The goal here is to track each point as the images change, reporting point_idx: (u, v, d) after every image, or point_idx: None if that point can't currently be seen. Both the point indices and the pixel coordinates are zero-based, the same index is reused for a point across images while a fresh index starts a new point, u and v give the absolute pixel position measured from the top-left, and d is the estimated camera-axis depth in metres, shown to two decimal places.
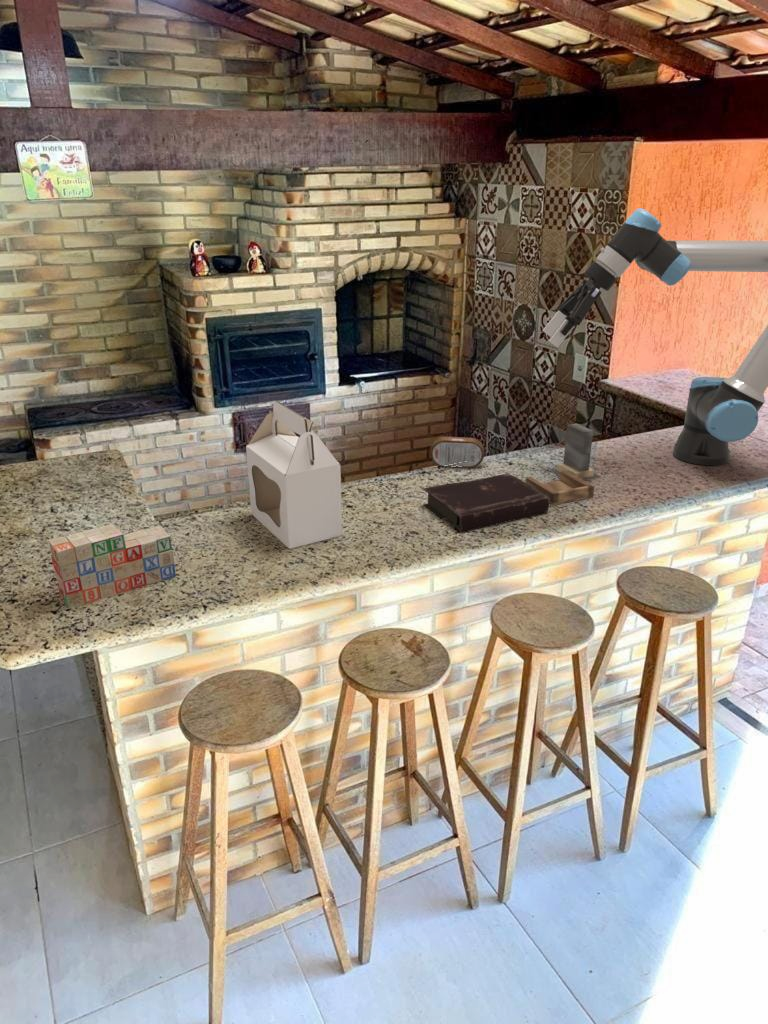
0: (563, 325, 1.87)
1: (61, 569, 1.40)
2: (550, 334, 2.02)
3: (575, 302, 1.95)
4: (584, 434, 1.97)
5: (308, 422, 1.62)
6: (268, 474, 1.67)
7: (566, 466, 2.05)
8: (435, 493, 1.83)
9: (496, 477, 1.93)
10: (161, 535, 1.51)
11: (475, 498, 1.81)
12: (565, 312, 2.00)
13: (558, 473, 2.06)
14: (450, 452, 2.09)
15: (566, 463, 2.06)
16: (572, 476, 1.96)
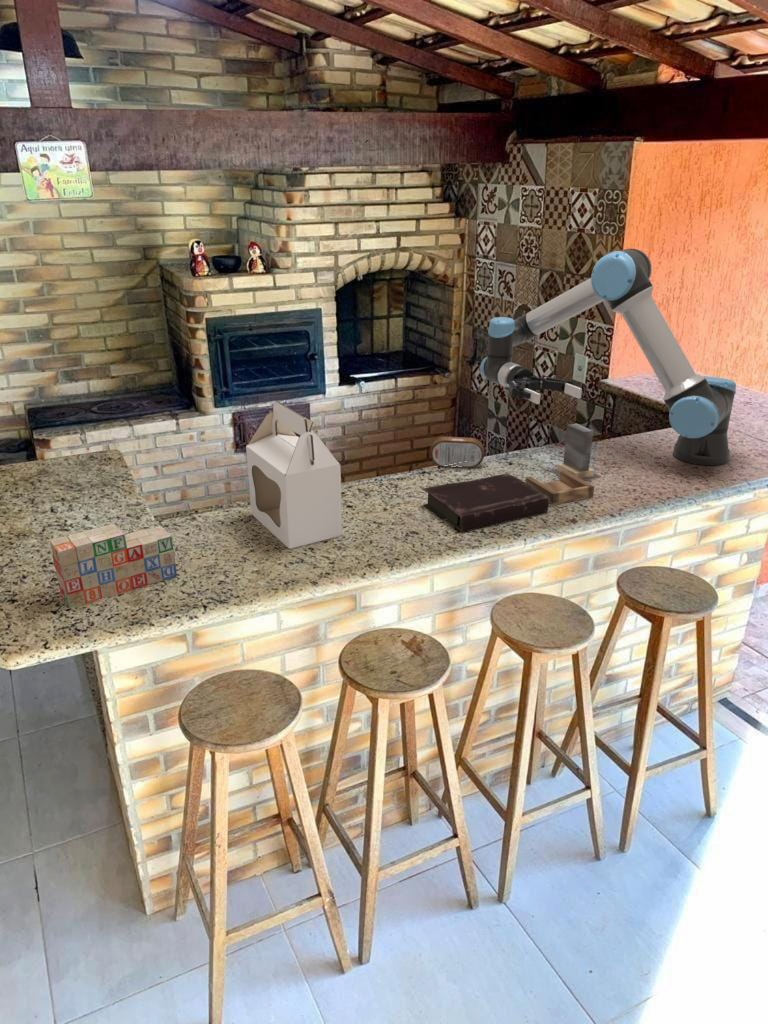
0: None
1: (62, 569, 1.40)
2: (578, 390, 2.09)
3: (548, 385, 2.16)
4: (584, 434, 1.97)
5: (308, 422, 1.62)
6: (268, 474, 1.67)
7: (566, 466, 2.05)
8: (435, 493, 1.83)
9: (495, 477, 1.93)
10: (163, 535, 1.51)
11: (475, 498, 1.81)
12: None
13: (558, 473, 2.06)
14: (450, 452, 2.09)
15: (566, 463, 2.06)
16: (572, 476, 1.96)
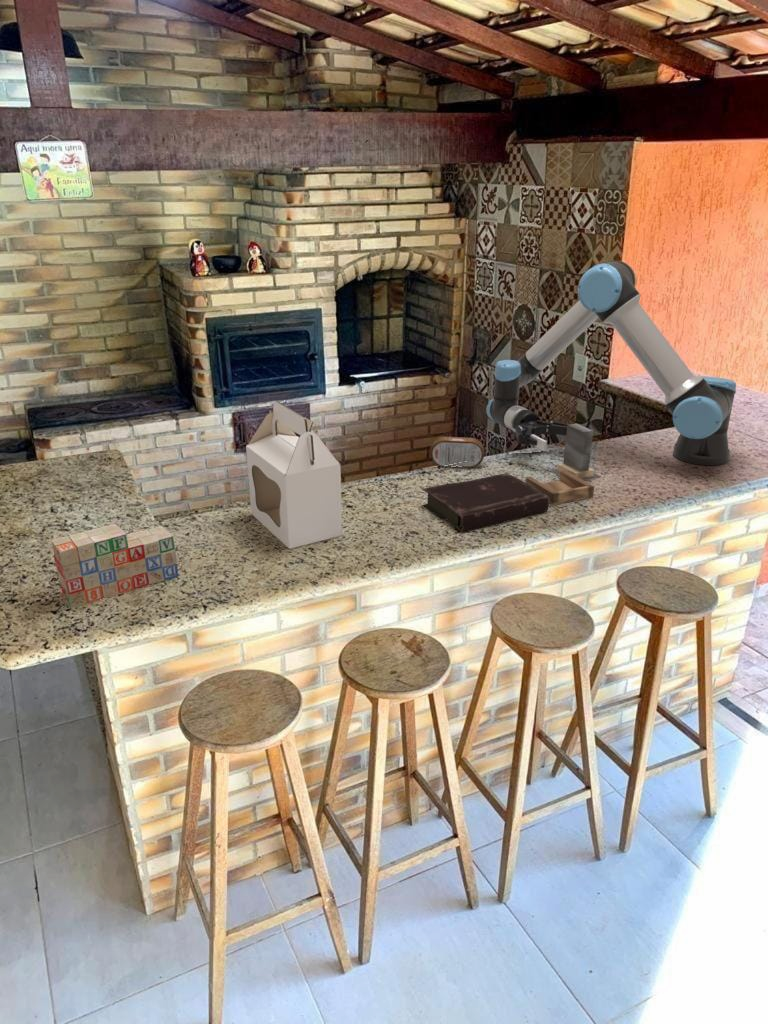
0: None
1: (64, 569, 1.40)
2: None
3: (555, 429, 2.17)
4: (584, 434, 1.97)
5: (308, 422, 1.62)
6: (268, 474, 1.67)
7: (566, 466, 2.05)
8: (435, 493, 1.83)
9: (495, 477, 1.93)
10: (164, 535, 1.51)
11: (475, 498, 1.81)
12: None
13: (558, 473, 2.06)
14: (450, 452, 2.09)
15: (566, 463, 2.06)
16: (572, 476, 1.96)
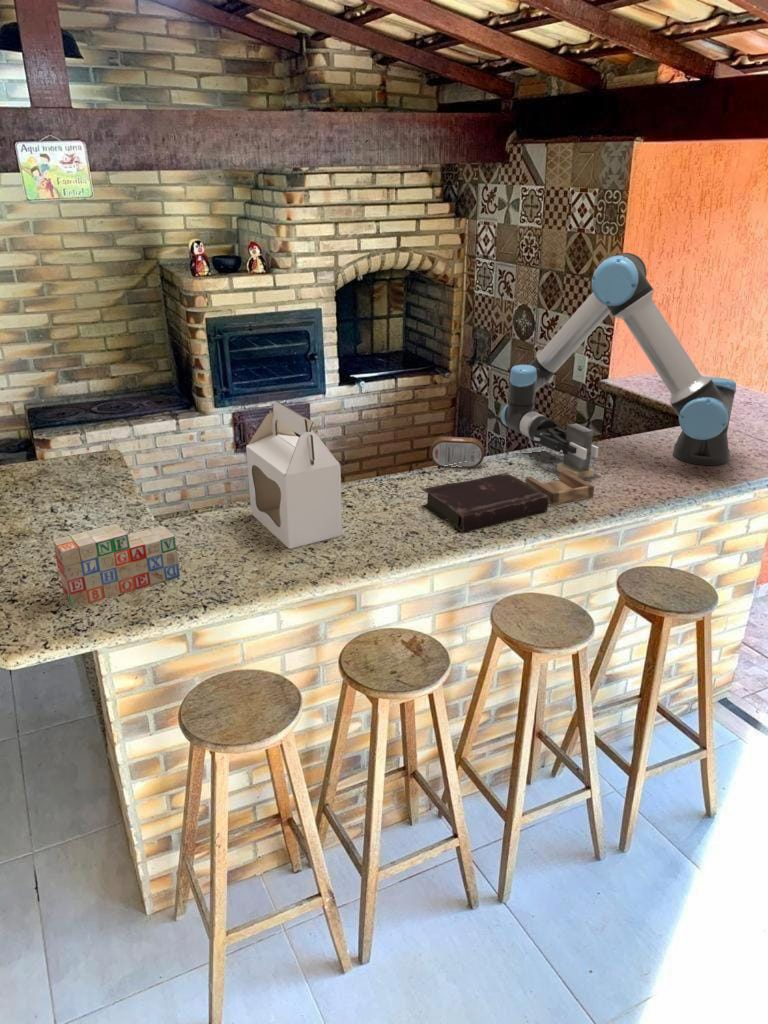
0: (571, 452, 2.02)
1: (65, 569, 1.40)
2: (595, 448, 1.99)
3: None
4: (584, 434, 1.97)
5: (308, 422, 1.62)
6: (268, 474, 1.67)
7: (566, 466, 2.05)
8: (435, 493, 1.83)
9: (494, 476, 1.93)
10: (165, 535, 1.51)
11: (475, 498, 1.81)
12: None
13: (558, 473, 2.06)
14: (450, 452, 2.09)
15: (566, 463, 2.06)
16: (572, 476, 1.96)
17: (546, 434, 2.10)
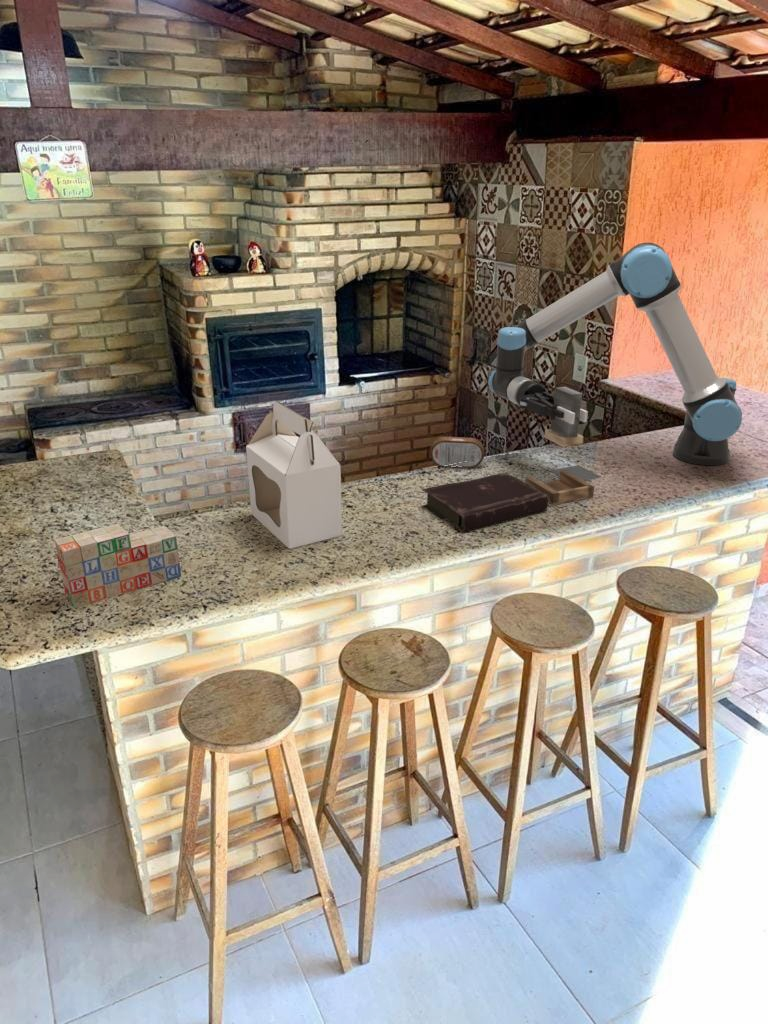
0: None
1: (67, 568, 1.40)
2: (583, 413, 1.86)
3: None
4: (572, 397, 1.85)
5: (308, 422, 1.62)
6: (268, 474, 1.67)
7: (554, 432, 1.92)
8: (435, 494, 1.83)
9: (493, 476, 1.93)
10: (167, 535, 1.51)
11: (475, 498, 1.81)
12: None
13: (558, 473, 2.06)
14: (450, 452, 2.09)
15: (554, 429, 1.93)
16: (572, 476, 1.96)
17: (533, 399, 1.97)
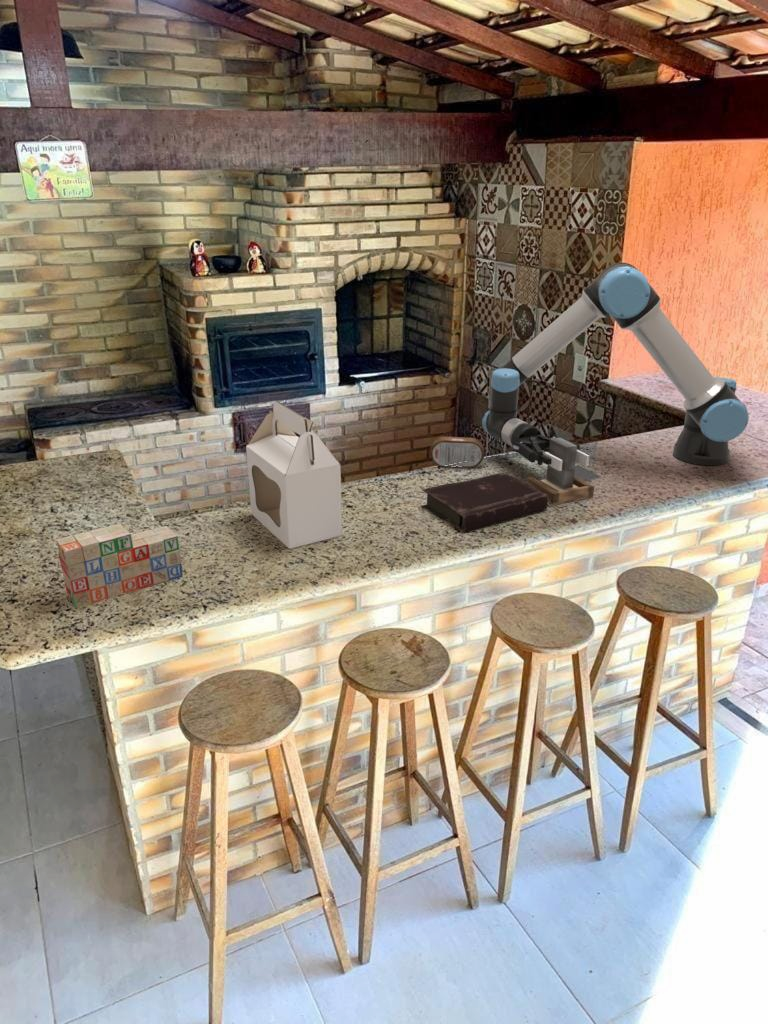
0: None
1: (68, 568, 1.40)
2: (585, 457, 1.87)
3: None
4: (567, 449, 1.85)
5: (308, 422, 1.62)
6: (268, 474, 1.67)
7: (549, 483, 1.93)
8: (435, 494, 1.83)
9: (492, 476, 1.94)
10: (169, 535, 1.51)
11: (476, 498, 1.81)
12: None
13: None
14: (450, 452, 2.09)
15: (549, 480, 1.94)
16: None
17: (529, 443, 1.97)
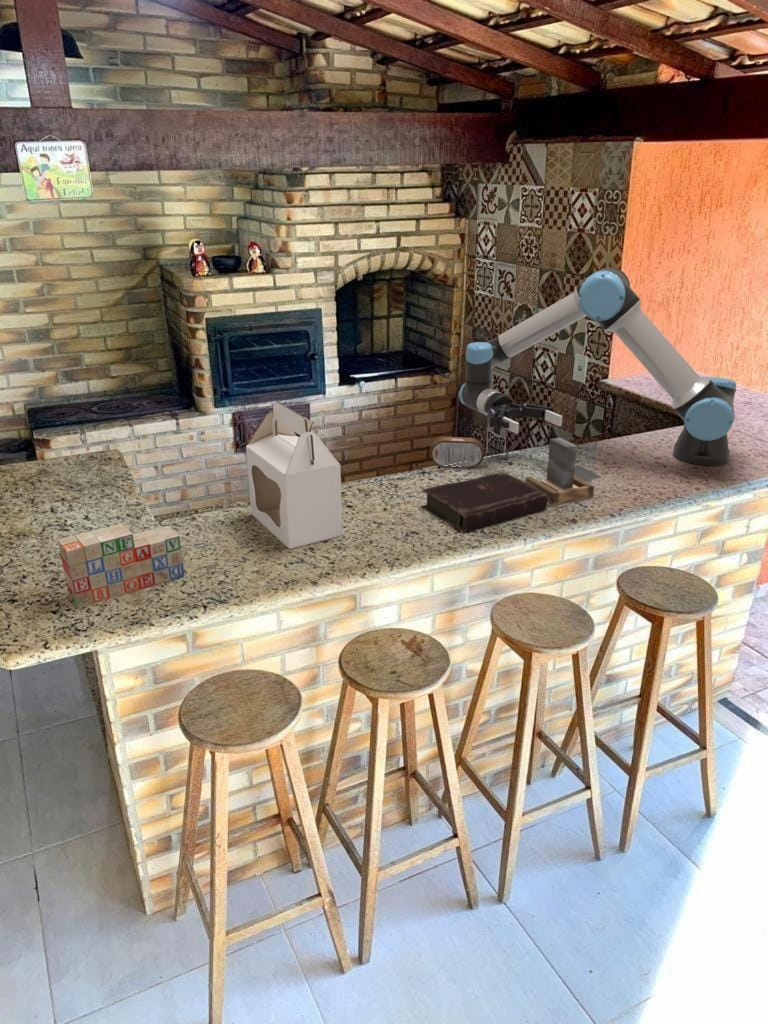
0: None
1: (70, 568, 1.40)
2: (558, 417, 2.01)
3: (528, 412, 2.09)
4: (567, 449, 1.85)
5: (308, 422, 1.62)
6: (268, 474, 1.67)
7: (549, 483, 1.93)
8: (435, 494, 1.83)
9: (491, 476, 1.94)
10: (170, 535, 1.51)
11: (476, 498, 1.81)
12: None
13: None
14: (450, 452, 2.09)
15: (549, 480, 1.94)
16: None
17: None
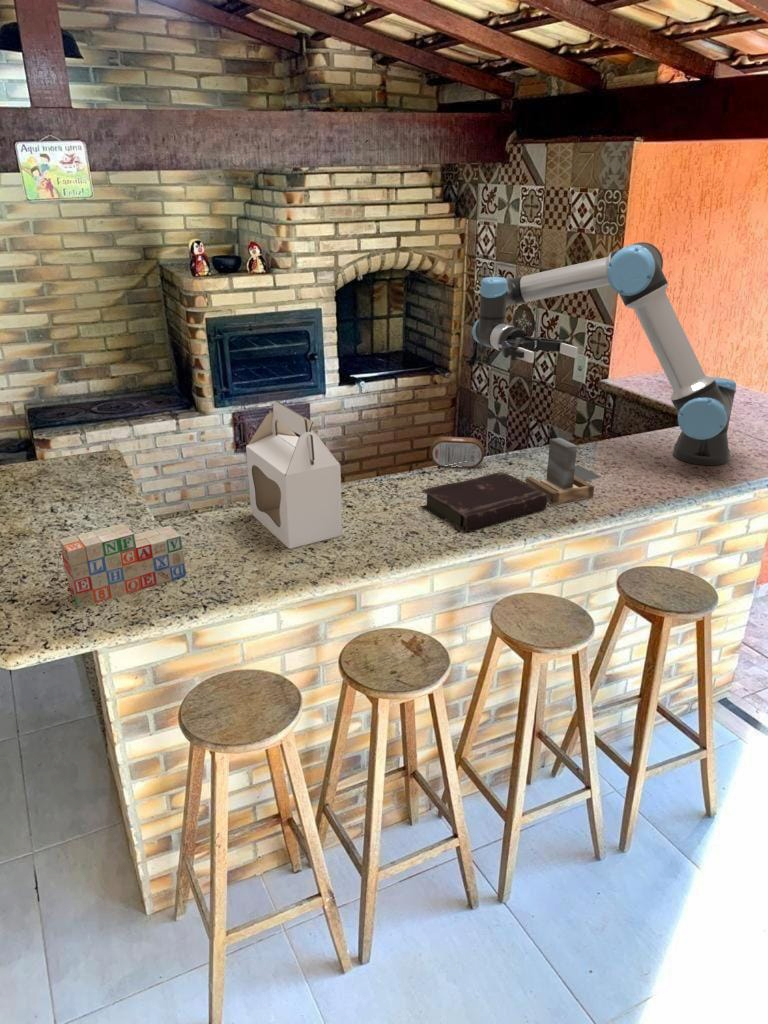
0: (520, 357, 1.97)
1: (72, 568, 1.40)
2: (574, 349, 1.98)
3: (543, 345, 2.06)
4: (567, 449, 1.85)
5: (308, 422, 1.62)
6: (268, 474, 1.67)
7: (549, 483, 1.93)
8: (435, 494, 1.83)
9: (490, 476, 1.94)
10: (172, 535, 1.51)
11: (476, 498, 1.81)
12: None
13: None
14: (450, 452, 2.09)
15: (549, 480, 1.94)
16: None
17: None
